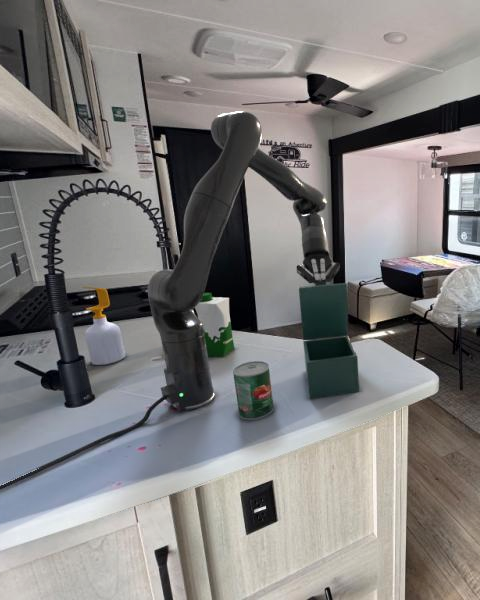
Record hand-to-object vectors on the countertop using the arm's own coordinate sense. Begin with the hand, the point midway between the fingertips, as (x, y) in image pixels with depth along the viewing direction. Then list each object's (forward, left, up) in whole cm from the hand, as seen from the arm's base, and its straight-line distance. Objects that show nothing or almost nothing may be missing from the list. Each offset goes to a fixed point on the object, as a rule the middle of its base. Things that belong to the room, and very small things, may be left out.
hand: (322, 293), depth 106 cm
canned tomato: (-26, -4, -23) cm, 35 cm away
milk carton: (-13, +39, -23) cm, 47 cm away
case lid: (-2, -2, -5) cm, 6 cm away
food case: (-5, -7, -23) cm, 24 cm away
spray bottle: (-38, +63, -23) cm, 77 cm away
